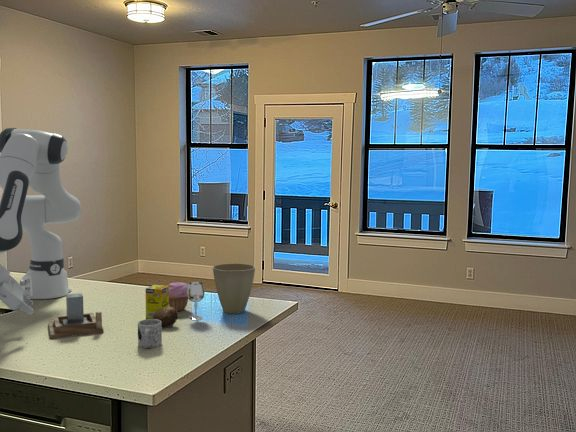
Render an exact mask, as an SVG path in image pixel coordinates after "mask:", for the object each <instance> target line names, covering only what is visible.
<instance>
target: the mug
mask: <svg viewBox="0 0 576 432" xmlns="http://www.w3.org/2000/svg"><path fill="white" fill-rule="evenodd" d="M162 330H163V329H162V325H161V321H160V320H157V319H147V320H146V319H142V320H140V321H138V322H137V346H138V348H140V349H144V350H145V349H156V348H160V347H161V346H162V344H163V341H162V336H163V335H162Z"/></svg>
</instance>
